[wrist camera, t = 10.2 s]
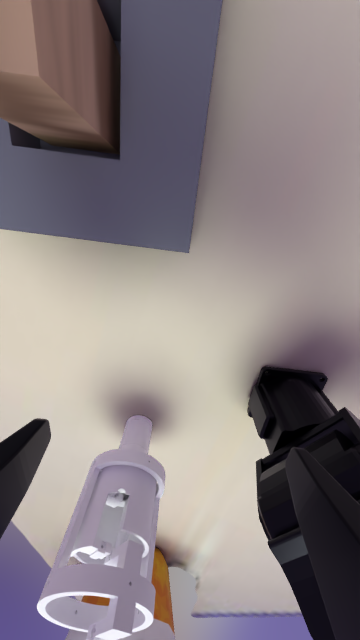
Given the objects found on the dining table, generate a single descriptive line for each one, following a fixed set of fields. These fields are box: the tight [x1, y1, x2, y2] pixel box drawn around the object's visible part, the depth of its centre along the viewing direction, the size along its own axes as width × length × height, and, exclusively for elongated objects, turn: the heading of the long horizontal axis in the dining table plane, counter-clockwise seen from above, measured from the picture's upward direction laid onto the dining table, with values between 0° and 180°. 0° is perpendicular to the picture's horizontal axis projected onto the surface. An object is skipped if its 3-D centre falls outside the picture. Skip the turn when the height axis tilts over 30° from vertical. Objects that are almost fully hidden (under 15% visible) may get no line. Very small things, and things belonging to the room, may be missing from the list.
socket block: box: [0, 0, 222, 253], centre depth 13 cm, size 15×15×4 cm
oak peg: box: [0, 0, 121, 155], centre depth 10 cm, size 4×4×9 cm
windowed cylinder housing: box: [37, 415, 165, 640], centre depth 19 cm, size 7×7×15 cm
